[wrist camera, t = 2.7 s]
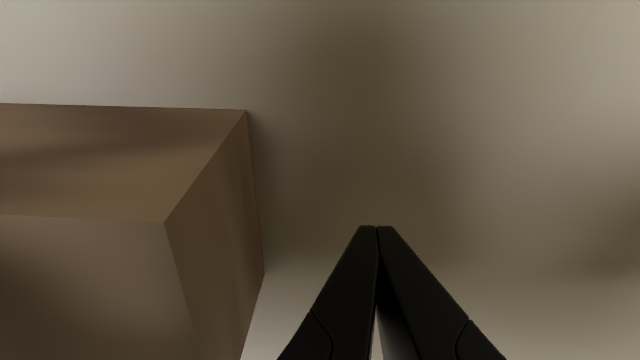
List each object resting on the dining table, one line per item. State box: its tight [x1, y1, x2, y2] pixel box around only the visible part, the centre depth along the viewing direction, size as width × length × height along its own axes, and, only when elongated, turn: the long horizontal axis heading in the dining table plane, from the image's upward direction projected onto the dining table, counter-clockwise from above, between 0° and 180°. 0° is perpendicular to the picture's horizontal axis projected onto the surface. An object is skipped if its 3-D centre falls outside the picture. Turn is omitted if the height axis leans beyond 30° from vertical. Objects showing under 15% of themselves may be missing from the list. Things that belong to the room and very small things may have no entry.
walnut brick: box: [0, 103, 264, 360], centre depth 9 cm, size 7×6×5 cm
